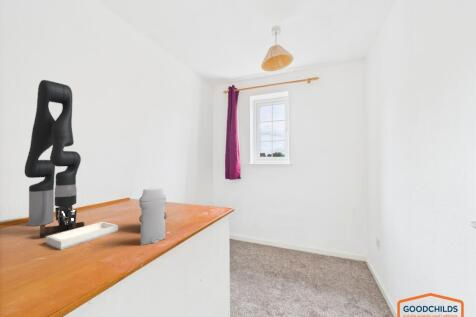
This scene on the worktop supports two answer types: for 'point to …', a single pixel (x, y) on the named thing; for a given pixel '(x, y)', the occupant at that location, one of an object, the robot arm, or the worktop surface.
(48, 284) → the worktop surface
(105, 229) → the parts tray
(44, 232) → the bolt
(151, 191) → the tall pale column
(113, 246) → the worktop surface
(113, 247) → the worktop surface
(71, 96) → the robot arm
